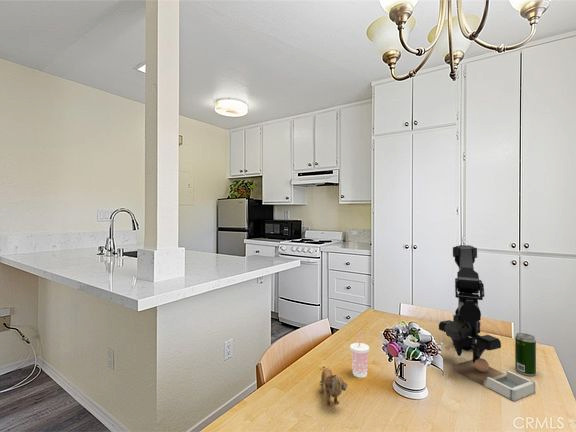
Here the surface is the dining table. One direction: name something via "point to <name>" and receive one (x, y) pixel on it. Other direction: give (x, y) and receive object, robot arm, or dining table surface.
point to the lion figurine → (332, 385)
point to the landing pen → (512, 386)
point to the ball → (481, 365)
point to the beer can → (525, 354)
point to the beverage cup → (359, 358)
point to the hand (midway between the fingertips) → (467, 359)
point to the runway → (479, 373)
